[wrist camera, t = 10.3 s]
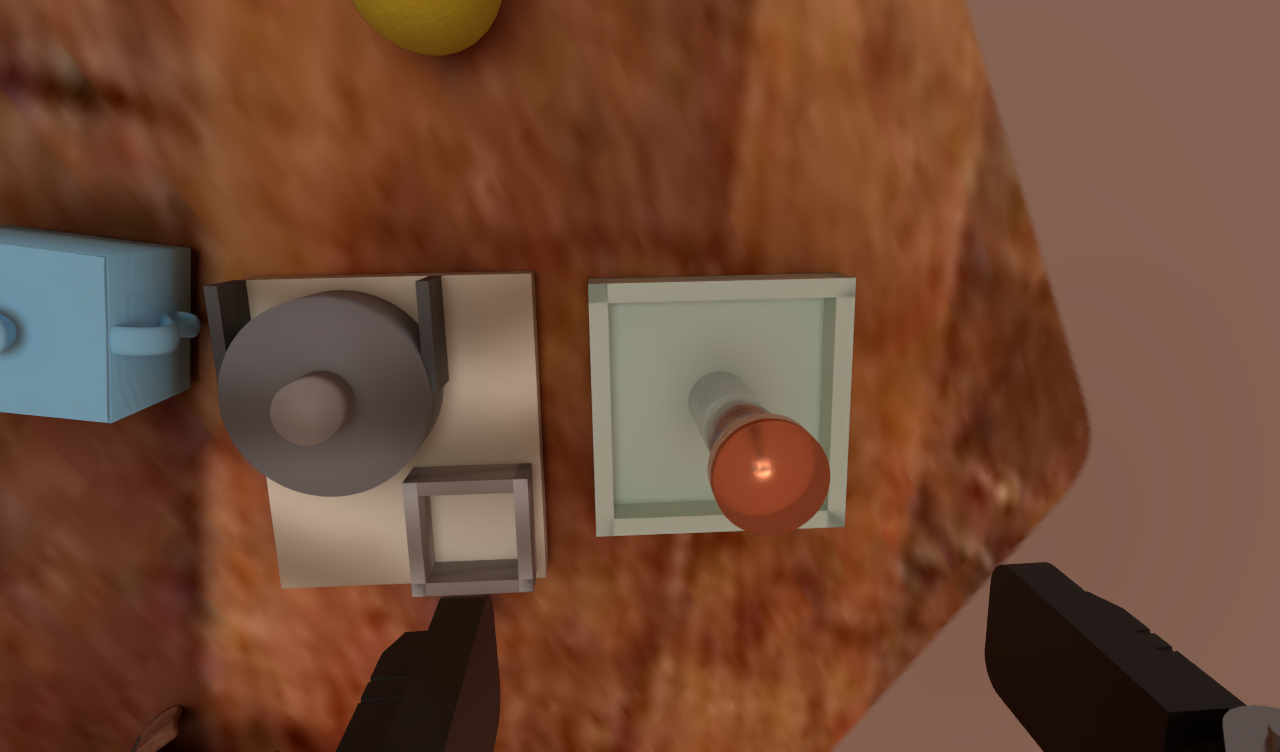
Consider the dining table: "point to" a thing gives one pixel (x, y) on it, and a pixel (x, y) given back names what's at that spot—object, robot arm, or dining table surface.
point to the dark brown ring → (159, 731)
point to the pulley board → (459, 438)
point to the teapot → (92, 324)
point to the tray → (691, 348)
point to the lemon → (430, 22)
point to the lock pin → (757, 458)
